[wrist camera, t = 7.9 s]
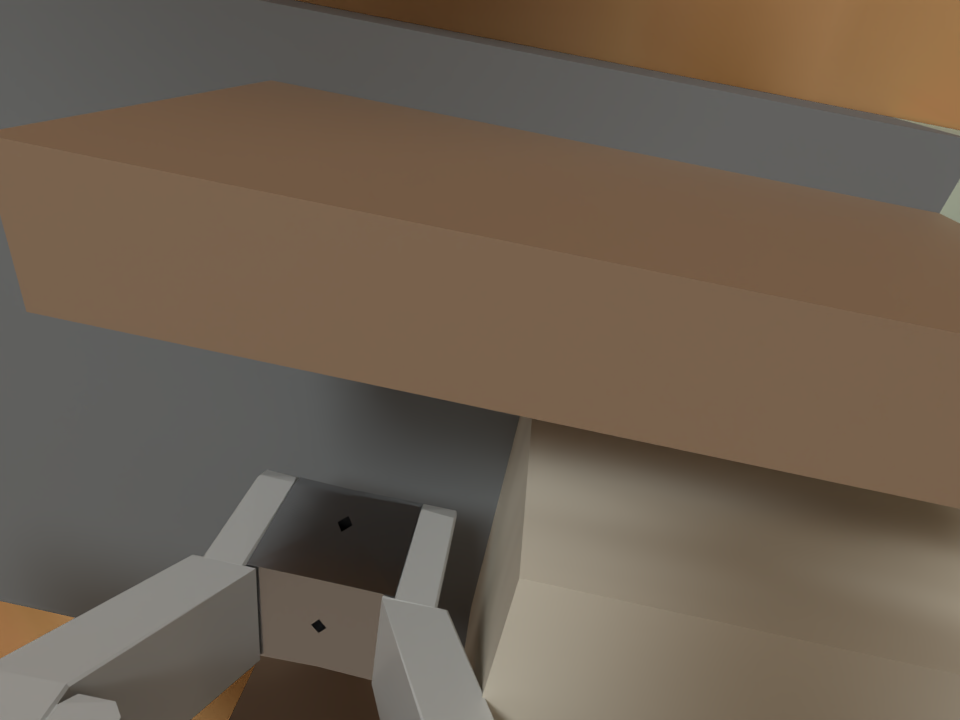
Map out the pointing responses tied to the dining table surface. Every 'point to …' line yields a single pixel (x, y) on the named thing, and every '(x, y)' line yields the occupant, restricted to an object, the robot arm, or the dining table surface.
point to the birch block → (708, 590)
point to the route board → (429, 283)
